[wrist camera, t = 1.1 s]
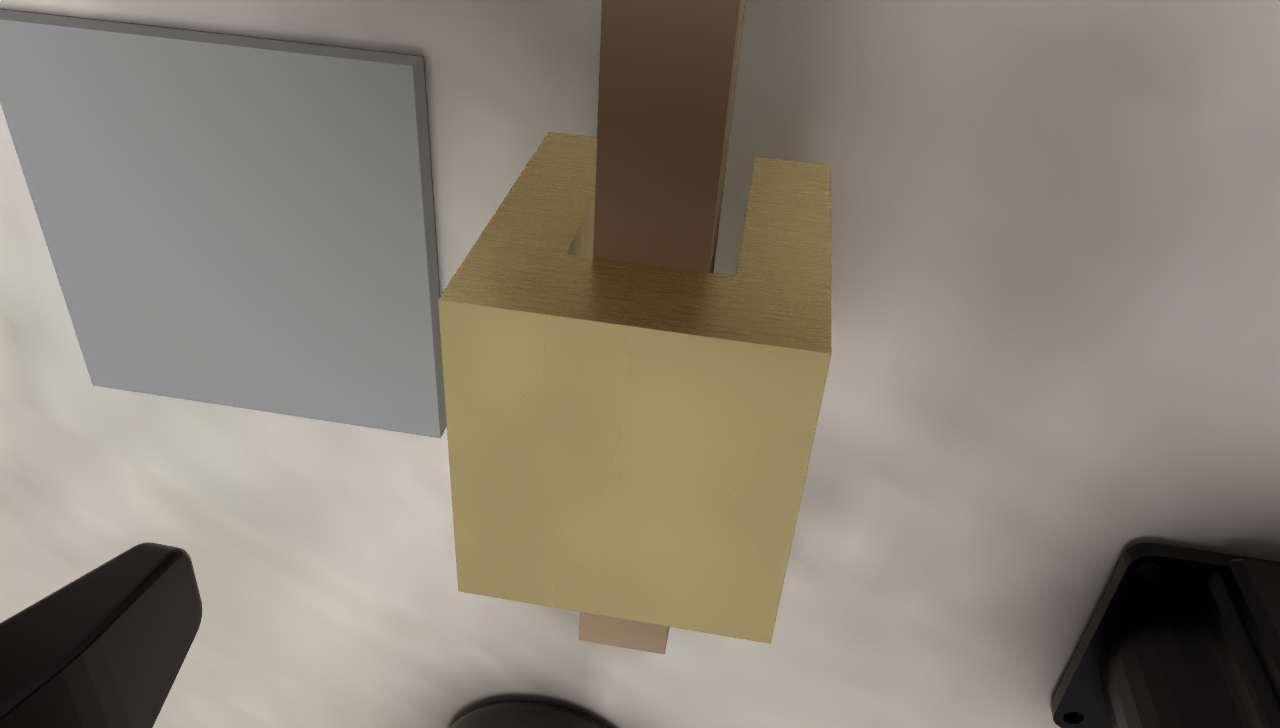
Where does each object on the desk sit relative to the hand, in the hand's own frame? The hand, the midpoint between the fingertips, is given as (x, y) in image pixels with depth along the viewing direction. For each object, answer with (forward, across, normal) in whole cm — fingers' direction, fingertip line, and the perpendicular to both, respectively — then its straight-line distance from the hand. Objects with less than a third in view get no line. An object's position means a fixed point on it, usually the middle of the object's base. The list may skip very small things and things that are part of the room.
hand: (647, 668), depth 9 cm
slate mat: (+12, +11, +3) cm, 16 cm away
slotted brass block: (+9, +1, +1) cm, 9 cm away
